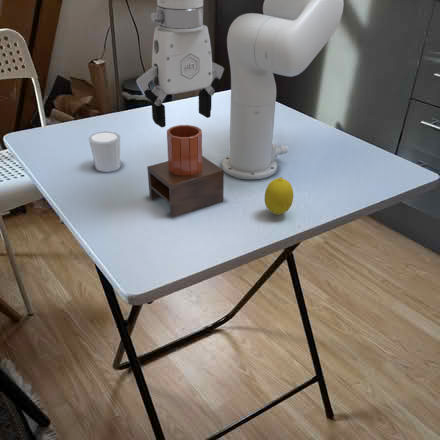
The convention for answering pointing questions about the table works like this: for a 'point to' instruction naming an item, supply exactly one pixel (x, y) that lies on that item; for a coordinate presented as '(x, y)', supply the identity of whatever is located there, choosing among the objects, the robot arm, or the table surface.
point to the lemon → (279, 196)
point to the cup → (184, 150)
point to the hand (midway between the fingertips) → (182, 120)
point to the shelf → (186, 187)
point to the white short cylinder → (105, 150)
